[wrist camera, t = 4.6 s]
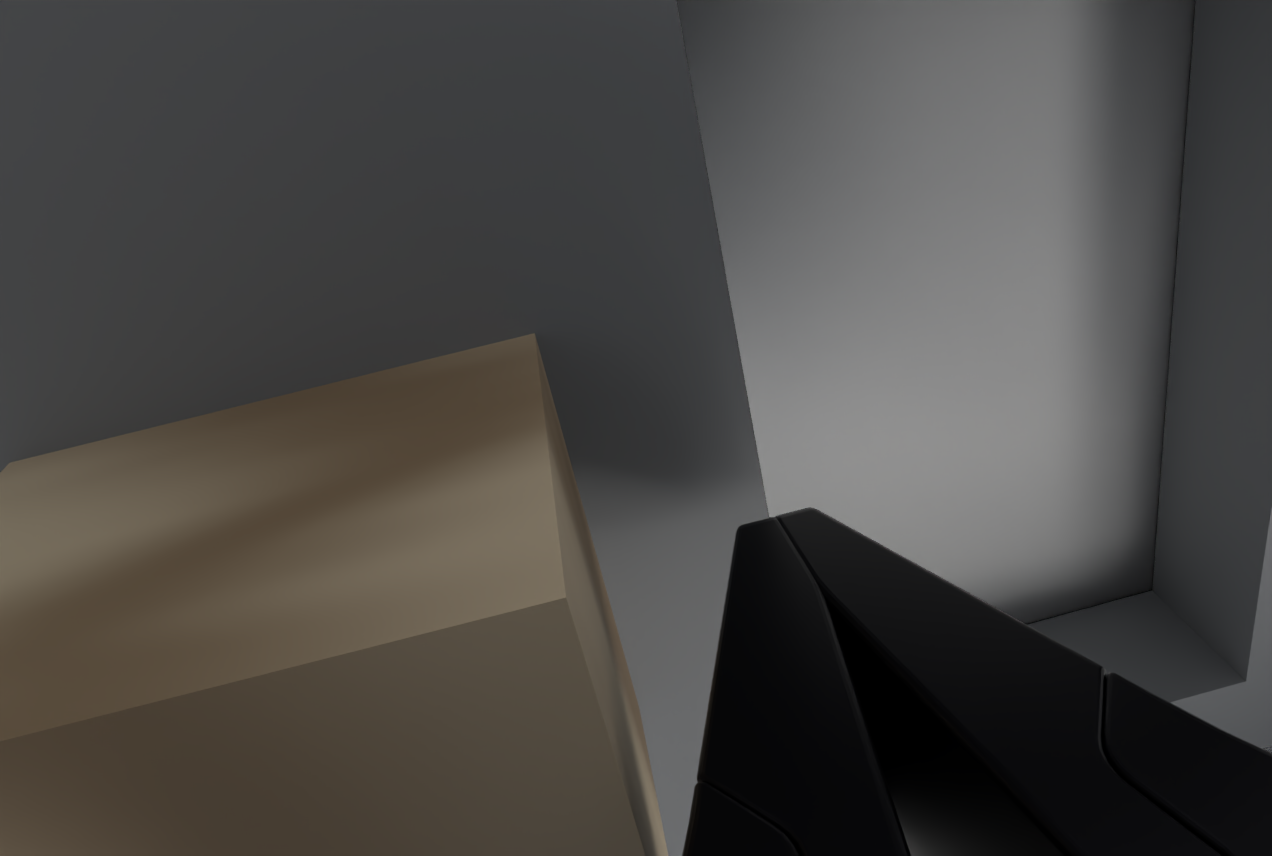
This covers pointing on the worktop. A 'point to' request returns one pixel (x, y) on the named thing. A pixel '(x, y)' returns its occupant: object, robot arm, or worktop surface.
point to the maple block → (320, 632)
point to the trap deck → (551, 286)
